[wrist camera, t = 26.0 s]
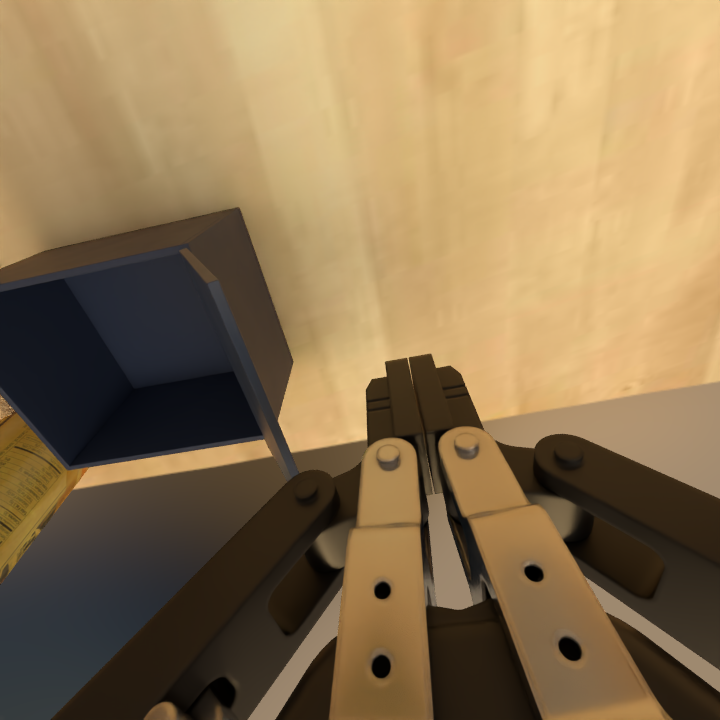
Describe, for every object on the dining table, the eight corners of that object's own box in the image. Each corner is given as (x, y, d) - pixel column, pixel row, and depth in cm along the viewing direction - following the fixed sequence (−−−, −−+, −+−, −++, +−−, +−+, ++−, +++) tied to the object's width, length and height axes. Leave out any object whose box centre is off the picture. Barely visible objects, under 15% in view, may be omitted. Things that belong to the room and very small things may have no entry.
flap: (206, 283, 9) (218, 279, 9) (178, 250, 14) (187, 247, 14) (314, 530, 14) (321, 525, 14) (268, 447, 19) (273, 444, 19)
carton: (45, 250, 21) (-82, 301, 15) (239, 207, 20) (187, 243, 14) (134, 390, 27) (67, 470, 20) (293, 361, 25) (273, 438, 19)
